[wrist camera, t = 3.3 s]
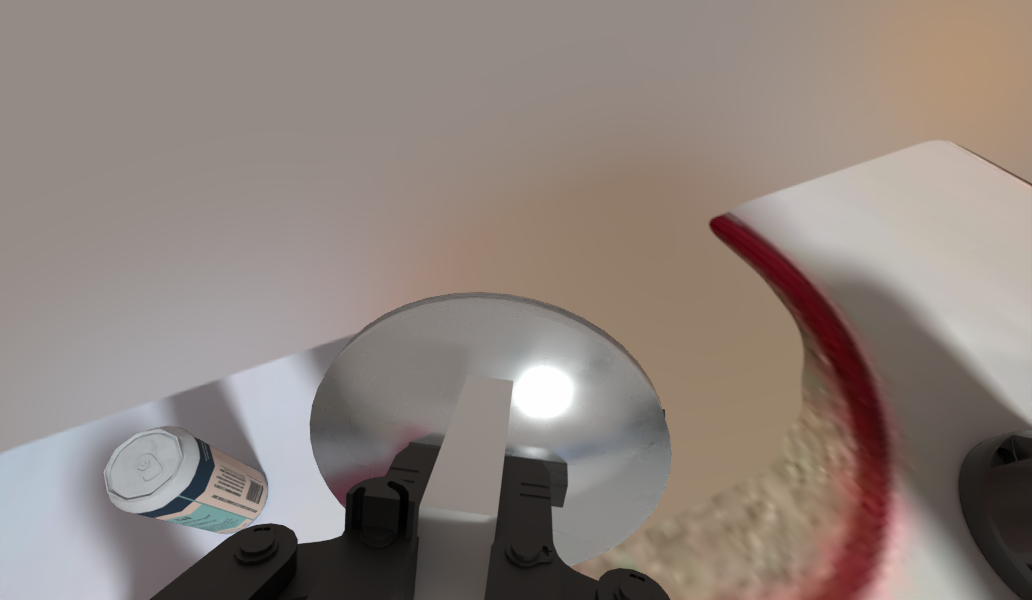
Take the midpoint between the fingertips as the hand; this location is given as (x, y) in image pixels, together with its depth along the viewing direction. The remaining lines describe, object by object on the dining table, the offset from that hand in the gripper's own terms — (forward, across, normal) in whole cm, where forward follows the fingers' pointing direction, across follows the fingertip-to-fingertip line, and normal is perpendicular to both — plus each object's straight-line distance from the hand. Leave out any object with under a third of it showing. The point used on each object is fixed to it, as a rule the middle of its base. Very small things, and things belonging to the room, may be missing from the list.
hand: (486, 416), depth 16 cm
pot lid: (+6, 0, -5) cm, 8 cm away
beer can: (+17, -19, -19) cm, 32 cm away
